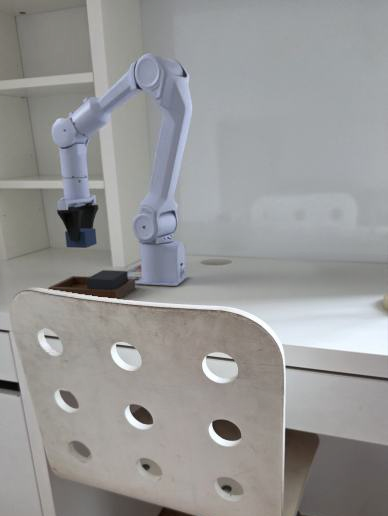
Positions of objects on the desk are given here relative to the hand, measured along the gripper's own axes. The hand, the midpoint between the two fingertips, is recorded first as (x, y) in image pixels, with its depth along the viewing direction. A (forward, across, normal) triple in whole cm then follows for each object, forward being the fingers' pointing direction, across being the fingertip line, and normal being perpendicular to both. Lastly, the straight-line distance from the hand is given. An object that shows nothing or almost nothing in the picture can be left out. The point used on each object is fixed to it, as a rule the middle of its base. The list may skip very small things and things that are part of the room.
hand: (81, 238), depth 122 cm
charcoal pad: (+8, +16, +14) cm, 22 cm away
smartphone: (+8, -4, +14) cm, 17 cm away
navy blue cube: (+2, 0, 0) cm, 2 cm away
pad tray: (+8, +16, +10) cm, 20 cm away
